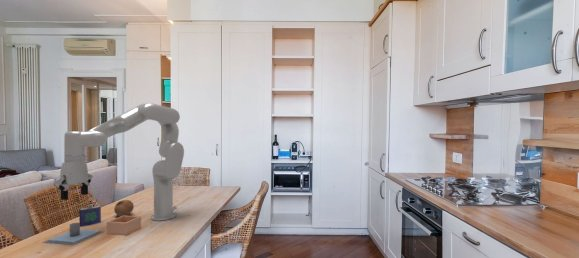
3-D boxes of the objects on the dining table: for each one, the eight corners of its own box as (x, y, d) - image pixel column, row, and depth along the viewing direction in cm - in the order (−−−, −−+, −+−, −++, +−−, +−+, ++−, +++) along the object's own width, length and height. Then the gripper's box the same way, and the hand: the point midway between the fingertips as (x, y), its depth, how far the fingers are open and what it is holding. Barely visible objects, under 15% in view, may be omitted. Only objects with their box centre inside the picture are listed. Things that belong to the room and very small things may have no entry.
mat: (76, 230, 137) (76, 229, 137) (104, 232, 134) (104, 231, 134) (41, 244, 121) (41, 242, 121) (73, 246, 118) (73, 245, 118)
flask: (100, 222, 149) (100, 202, 149) (101, 223, 147) (101, 203, 147) (78, 227, 142) (78, 205, 142) (80, 228, 140) (80, 206, 140)
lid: (75, 230, 135) (75, 218, 135) (99, 232, 133) (99, 220, 133) (48, 241, 122) (48, 228, 122) (73, 243, 120) (73, 230, 120)
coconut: (119, 223, 157) (112, 209, 152) (116, 214, 164) (109, 201, 159) (137, 214, 162) (131, 200, 157) (134, 206, 169) (127, 193, 164)
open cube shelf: (123, 227, 141) (123, 215, 141) (140, 228, 140) (140, 216, 139) (106, 234, 131) (106, 221, 131) (125, 236, 130) (125, 223, 130)
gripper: (84, 156, 136) (84, 192, 136) (48, 160, 119) (48, 201, 119) (98, 157, 135) (98, 193, 135) (63, 161, 118) (63, 202, 118)
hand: (74, 197), depth 127 cm, fingers open, 9 cm apart
